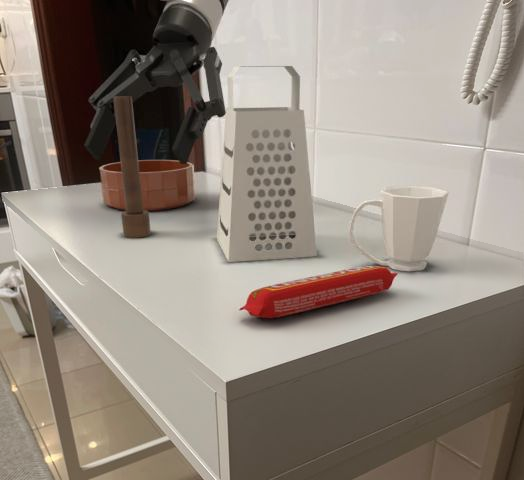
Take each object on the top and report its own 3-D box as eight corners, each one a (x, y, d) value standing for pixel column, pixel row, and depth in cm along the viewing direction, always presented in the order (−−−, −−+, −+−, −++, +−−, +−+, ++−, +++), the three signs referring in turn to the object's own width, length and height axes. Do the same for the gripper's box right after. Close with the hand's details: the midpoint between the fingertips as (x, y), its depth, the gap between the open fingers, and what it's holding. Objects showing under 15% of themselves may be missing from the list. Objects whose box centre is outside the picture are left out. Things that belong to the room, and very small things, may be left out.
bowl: (100, 197, 99) (96, 162, 96) (185, 192, 103) (182, 158, 101) (108, 215, 86) (103, 175, 83) (204, 208, 90) (202, 169, 88)
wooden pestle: (122, 232, 76) (105, 96, 69) (148, 230, 77) (135, 95, 70) (125, 239, 73) (108, 97, 66) (152, 236, 74) (139, 96, 67)
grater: (317, 256, 65) (323, 65, 57) (228, 262, 64) (221, 65, 55) (294, 234, 75) (297, 67, 66) (216, 238, 73) (209, 67, 64)
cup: (444, 276, 59) (455, 197, 55) (348, 273, 59) (353, 196, 56) (432, 256, 65) (442, 185, 61) (346, 255, 66) (350, 184, 62)
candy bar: (374, 284, 56) (377, 255, 55) (400, 295, 53) (403, 265, 52) (235, 317, 49) (233, 285, 48) (256, 331, 46) (255, 297, 45)
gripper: (277, 48, 76) (230, 178, 70) (127, 53, 85) (75, 168, 80) (260, -3, 69) (206, 137, 64) (100, 9, 79) (41, 132, 73)
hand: (133, 155), depth 72 cm, fingers open, 13 cm apart
